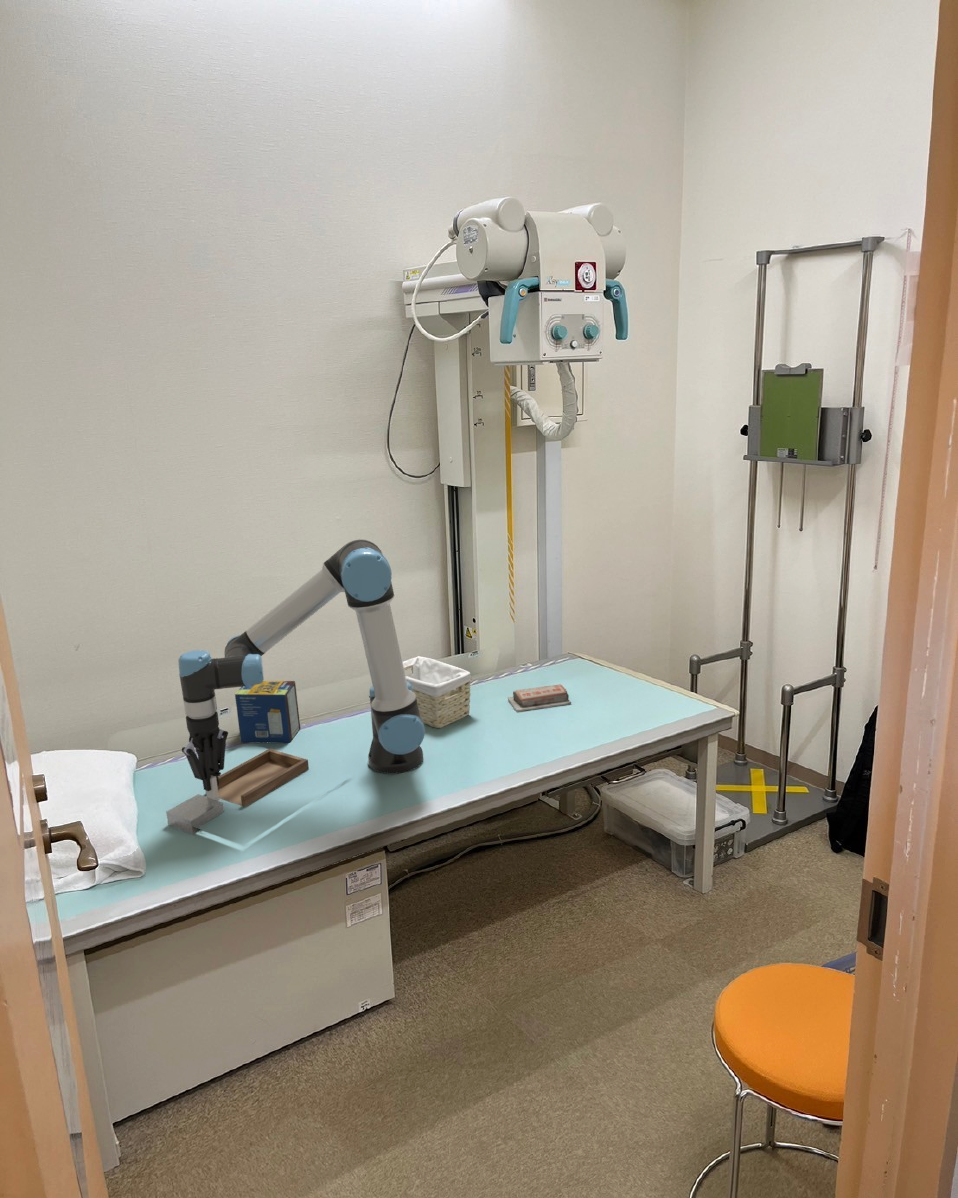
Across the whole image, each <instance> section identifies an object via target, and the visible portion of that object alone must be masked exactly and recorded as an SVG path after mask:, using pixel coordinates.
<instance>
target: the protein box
mask: <svg viewBox="0 0 958 1198" xmlns="http://www.w3.org/2000/svg"><path fill="white" fill-rule="evenodd" d="M234 697H235V707H236V713H237V721H238V731H239V738H240V743H247V742H254V743H255V742H260V743H259V744H261V743H263V742H264V743H263V744H267V742H268V744H291V743H292V741H293V739H294V738H295V736H296V735H297V734H298V732H299V730H300V729H301V722H300V715H299V714H300V713H299V703H298V694H297V685H296V681H295V680H286V681H284V680H275V681H273V680H271V681H270V680H269V681H268V680H263V682H262V683H261V684H257V685H252V686H243V687H239V688H238V690H237V691H236V692H235V693H234ZM254 743H253V744H254ZM255 744H256V743H255Z"/></svg>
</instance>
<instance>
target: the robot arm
mask: <svg viewBox="0 0 958 1198" xmlns="http://www.w3.org/2000/svg"><path fill="white" fill-rule="evenodd" d="M392 578H393V577H392V569H391V566H390V563H389V561H388V559H387V558H386V556H385V555H384V554H383V552H382V549H380V548H379V547H378V545H376V544H375V543H374V542H372V541H370V540H367V539H355V540H351V541H349V542H347V543H346V544H344V545H343V546H342V547H341V548H339V550H337V551H336V552H335V553H334V554H332V555H331V556H330V557H329V558H328V559H327V560H325V561H324V562H323V563H322V567H321V569H320V570H319V571H318V572H317V573H316V574H315V575H313V576H312V577H311V578H309V579H308V580H307V581H306V582H304V583H303V584H302V585H301V586H299V587H298V588H297V589H296V590H294V591H293V592H292V593H291V594H290V595H288V596H287V597H286V598H285V599H284V600H282V601H281V602H279V603H278V604H277V605H276V606H275V607H274V608H273V609H271V610H270V611H269V612H268V613H266V614H265V615H264V616H262V617H261V618H260V619H258V621H256V622H255V623H254V624H253V625H251V626H250V627H249V628H247V630H245V631H244V632H243V633H241V634H238V635H234V636H233V637H231V638H230V639H229V640H227V641H228V642H227V643H226V645H225V647H224V657H219V658H218V657H216V658H212V657H211V654H210V653H209V651H207V650H199V649H195V650H190V651H187V652H184V653H182V654H181V655H180V656H179V658H178V672H179V673H178V676H179V680H180V686H181V694H182V698H183V699H182V700H183V707H184V713H185V715H186V716H185V721H186V728H187V732H188V734H189V736H188V737H189V738H188V744H187V745H186V746H182V748H181V752H182V753H183V754H184V755H185V756H186V758H187V761H188V764H189V767H190V769H191V771H192V774H193V777H194V778H195V779H196V780H200V781H202V785H203V786H202V787H203V790H204V791H205V794H206V797H208V798H211V799H214V800H217V801H219V800H220V798H219V795H218V787H217V786H219V779H218V776H220V775H222V772H220V771H224V769H225V759H226V757H225V756H226V745H227V744H226V742H227V740H228V739H227V738H228V735H229V731H227V730H223V729H220V726H219V725H220V723H219V721H220V720H219V713H218V705H217V698H216V691H215V690H222V689H232V688H233V689H234V688H241V687H243V686H252V685H257V684H261V683H262V682H263V681H265V680H264V679H265V678H264V667H263V659H262V656H263V655H265V654H266V652H268V651H270V650H271V649H272V648H273V647H274V646H276V645H277V644H278V643H280V641H282V640H283V639H284V638H286V637H287V636H288V635H289V634H291V633H292V632H293V631H295V630H296V629H297V628H298V627H299V626H301V625H302V624H303V623H304V622H306V620H308V619H310V618H311V617H312V616H313V615H315V614H316V613H317V612H318V611H319V610H321V609H322V608H323V607H325V606H326V605H327V604H328V603H329V602H330V601H332V600H333V599H334V598H336V597H337V596H338V595H339V594H341V593H344V594H345V599H346V602H347V606H348V607H349V608H350V609H352V610H354V611H355V614H356V619H357V623H358V627H359V631H360V635H361V640H362V641H361V642H362V645H363V648H364V649H363V650H364V654H365V658H366V662H367V666H368V671H369V676H370V679H371V684H372V685H371V686H370V688H369V695H368V698H369V701H370V702H369V704H370V705H369V706H370V717H371V728H372V730H371V731H372V739H371V743H370V747H369V751H368V756H367V759H368V761H367V762H368V766H369V768H370V769H371V770H373V771H376V772H379V773H380V774H402V773H407V772H410V771H412V770H415V769H417V768H419V766H421V765H422V764H423V763H424V751H423V749H422V747H421V744H422V743H423V741H424V738H425V736H426V735H425V734H426V729H425V724H424V723H423V722H422V720H421V717H420V713H419V708H418V704H417V699H416V695H415V693H414V692H413V689H412V685H411V683H409V682H407V681H406V676H407V675H406V672H405V670H404V667H403V662H404V661H403V659H402V655H401V650H400V644H399V640H398V636H397V631H396V626H395V622H394V616H393V612H392V608H391V603H392V601H393V599H394V597H395V594H394V593H395V592H394V587H393V583H392Z"/></svg>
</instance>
